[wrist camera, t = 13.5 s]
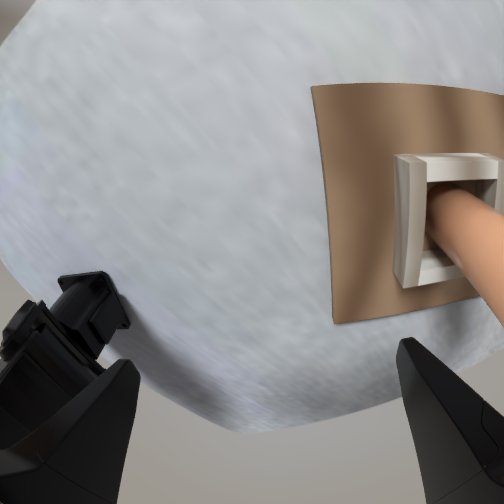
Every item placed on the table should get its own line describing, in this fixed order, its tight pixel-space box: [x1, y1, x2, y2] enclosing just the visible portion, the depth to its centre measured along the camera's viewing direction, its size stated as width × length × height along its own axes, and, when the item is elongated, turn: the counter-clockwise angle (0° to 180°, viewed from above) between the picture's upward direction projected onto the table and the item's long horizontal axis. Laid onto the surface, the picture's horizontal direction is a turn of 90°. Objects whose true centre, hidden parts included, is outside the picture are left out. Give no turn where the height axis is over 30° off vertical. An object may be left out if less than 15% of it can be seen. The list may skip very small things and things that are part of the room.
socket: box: [310, 83, 504, 324], centre depth 17 cm, size 18×18×4 cm
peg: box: [425, 182, 504, 327], centre depth 12 cm, size 4×4×13 cm
